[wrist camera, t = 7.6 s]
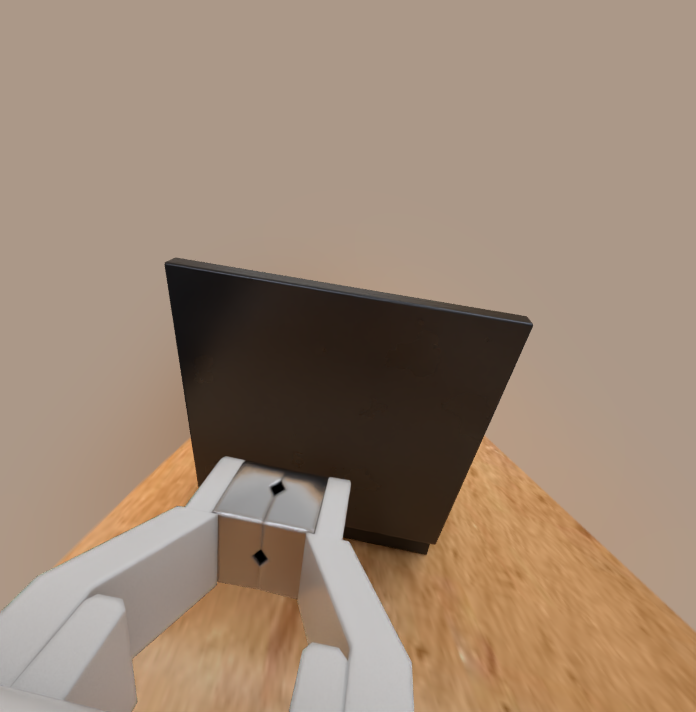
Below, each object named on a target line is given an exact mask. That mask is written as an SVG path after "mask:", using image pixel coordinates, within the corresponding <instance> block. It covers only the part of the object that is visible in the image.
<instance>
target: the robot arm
mask: <svg viewBox="0 0 696 712" xmlns="http://www.w3.org/2000/svg"><path fill="white" fill-rule="evenodd" d="M350 487H351V482H350V480H345V479H339V478H334V477H325V476H320V475H315V474H310V473H304V472H299V471H294V470H287V469H284V468H280V467H275V466H271V465H266V464H262V463H257V462H253V461H248V460H246V461H245V460H242V459H237V458H233V457H228V456H225V457H223V458H222V459H220V460H219V462H218V463H217V464H216V466H215V467H214V468H213V470H212V471H211V472H210V474H209V475H208V476H207V478H206V479H205V480H204V482H203V483H202V484H201V486H200V487H199V488H198V490H197V491H196V492H195V494H194V495H193V496H192V498H191V499H190V500H189V502H188V503H187V504H186V506H185V507H180V506H176V507H174V508H172V509H170V510H168V511H166V512H164V513H162V514H160V515H158V516H156V517H154V518H152V519H150V520H148V521H146V522H144V523H142V524H140V525H138V526H136V527H134V528H132V529H130V530H128V531H126V532H124V533H122V534H120V535H118V536H116V537H114V538H112V539H110V540H108V541H106V542H104V543H102V544H100V545H98V546H96V547H94V548H92V549H90V550H89V551H87V552H85V553H83V554H81V555H79V556H77V557H75V558H73V559H71V560H69V561H67V562H65V563H63V564H61V565H59V566H57V567H55V568H53V569H51V570H49V571H47V572H45V573H43V574H41V575H39V576H37V577H36V578H34V580H32V581H31V582H30V583H29V585H27V587H25V588H24V589H23V590H22V591H21V592H20V593H19V594H18V595H17V596H16V597H15V598H14V599H13V600H12V601H11V602H10V603H9V604H8V605H7V606H6V607H5V608H4V609H3V610H2V611H1V612H0V712H132V711H133V709H134V707H135V706H136V704H137V694H136V686H135V679H134V671H133V663H132V659H133V658H134V657H135V656H136V655H137V654H138V653H140V652H141V651H142V650H143V649H144V648H145V647H146V646H148V645H149V644H150V643H151V642H152V641H153V640H154V639H156V638H157V637H158V636H159V635H160V634H161V633H162V632H164V631H165V630H166V629H167V628H168V627H169V626H170V625H172V624H173V623H174V622H175V621H176V620H177V619H179V618H180V617H181V616H182V615H183V614H184V613H185V612H187V611H188V610H189V609H190V608H191V607H192V606H193V605H195V604H196V603H197V602H198V601H199V600H200V599H201V598H203V597H204V596H205V595H206V594H207V593H208V592H209V591H211V590H212V589H213V588H214V587H215V586H216V585H217V582H221V583H226V584H232V585H237V586H242V587H248V588H253V589H258V590H262V591H266V592H270V593H274V594H278V595H282V596H286V597H290V598H294V599H298V600H297V602H298V606H299V610H300V614H301V618H302V622H303V626H304V630H305V634H306V638H307V642H308V646H307V647H306V648H305V649H303V651H302V655H301V660H300V664H299V669H298V673H297V678H296V682H295V687H294V691H293V696H292V700H291V705H290V709H289V712H414V698H413V678H412V662H411V660H410V658H409V656H408V654H407V652H406V650H405V648H404V646H403V644H402V643H401V641H400V639H399V637H398V635H397V633H396V631H395V629H394V627H393V625H392V623H391V621H390V619H389V617H388V615H387V614H386V612H385V610H384V608H383V606H382V604H381V602H380V600H379V598H378V596H377V594H376V592H375V590H374V588H373V586H372V584H371V583H370V581H369V579H368V577H367V575H366V573H365V571H364V569H363V567H362V565H361V563H360V561H359V559H358V557H357V555H356V553H355V552H354V550H353V548H352V546H351V544H350V542H349V541H345V540H342V539H343V532H344V526H345V519H346V513H347V507H348V500H349V494H350Z"/></svg>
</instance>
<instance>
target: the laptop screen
mask: <svg viewBox="0 0 696 712" xmlns="http://www.w3.org/2000/svg"><path fill="white" fill-rule="evenodd" d="M165 270H166V277H167V284H168V290H169V296H170V303H171V310H172V316H173V323H174V330H175V335H176V343H177V349H178V356H179V362H180V369H181V376H182V382H183V389H184V395H185V402H186V408H187V415H188V421H189V428H190V434H191V441H192V448H193V454H194V461H195V467H196V474H197V481H198V487H200V486H201V484H202V483H203V482H204V480H205V479H206V478H207V476H208V475H209V474H210V472H211V471H212V470H213V468H214V467H215V466H216V464H217V463H218V462H219V460H220V459H222V458H223V457H225V456H228V457H233V458H237V459H242V460H245V461H246V460H248V461H253V462H257V463H262V464H266V465H271V466H275V467H280V468H284V469H287V470H294V471H299V472H304V473H310V474H315V475H320V476H325V477H334V478H339V479H345V480H350V482H351V487H350V494H349V500H348V507H347V513H346V519H345V526H347V527H351V528H356V529H361V530H366V531H371V532H376V533H381V534H385V535H390V536H395V537H400V538H405V539H410V540H414V541H419V542H424V543H429V544H434V545H435V544H436V542H437V540H438V538H439V535H440V533H441V531H442V529H443V527H444V524H445V522H446V520H447V518H448V515H449V513H450V511H451V509H452V506H453V504H454V502H455V500H456V497H457V495H458V493H459V491H460V488H461V486H462V484H463V482H464V479H465V477H466V475H467V473H468V470H469V468H470V466H471V464H472V462H473V459H474V457H475V455H476V453H477V450H478V448H479V446H480V444H481V441H482V439H483V437H484V435H485V432H486V430H487V428H488V426H489V423H490V421H491V419H492V417H493V414H494V412H495V410H496V408H497V405H498V403H499V401H500V399H501V396H502V394H503V392H504V390H505V387H506V385H507V383H508V380H509V379H510V376H511V374H512V372H513V369H514V367H515V365H516V363H517V361H518V358H519V356H520V354H521V352H522V349H523V347H524V345H525V343H526V340H527V338H528V336H529V334H530V332H531V329H532V327H533V324H532V322H531V321H530V320H529V319H528V317H526V316H521V315H515V314H509V313H503V312H497V311H491V310H485V309H480V308H474V307H468V306H461V305H455V304H449V303H444V302H437V301H431V300H426V299H419V298H414V297H408V296H402V295H396V294H390V293H383V292H378V291H372V290H366V289H360V288H354V287H348V286H342V285H336V284H330V283H324V282H318V281H312V280H306V279H300V278H294V277H288V276H282V275H276V274H270V273H265V272H258V271H253V270H246V269H240V268H235V267H228V266H223V265H216V264H211V263H205V262H198V261H192V260H187V259H180V258H173V259H171V260H169V261H167V262H165Z"/></svg>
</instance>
